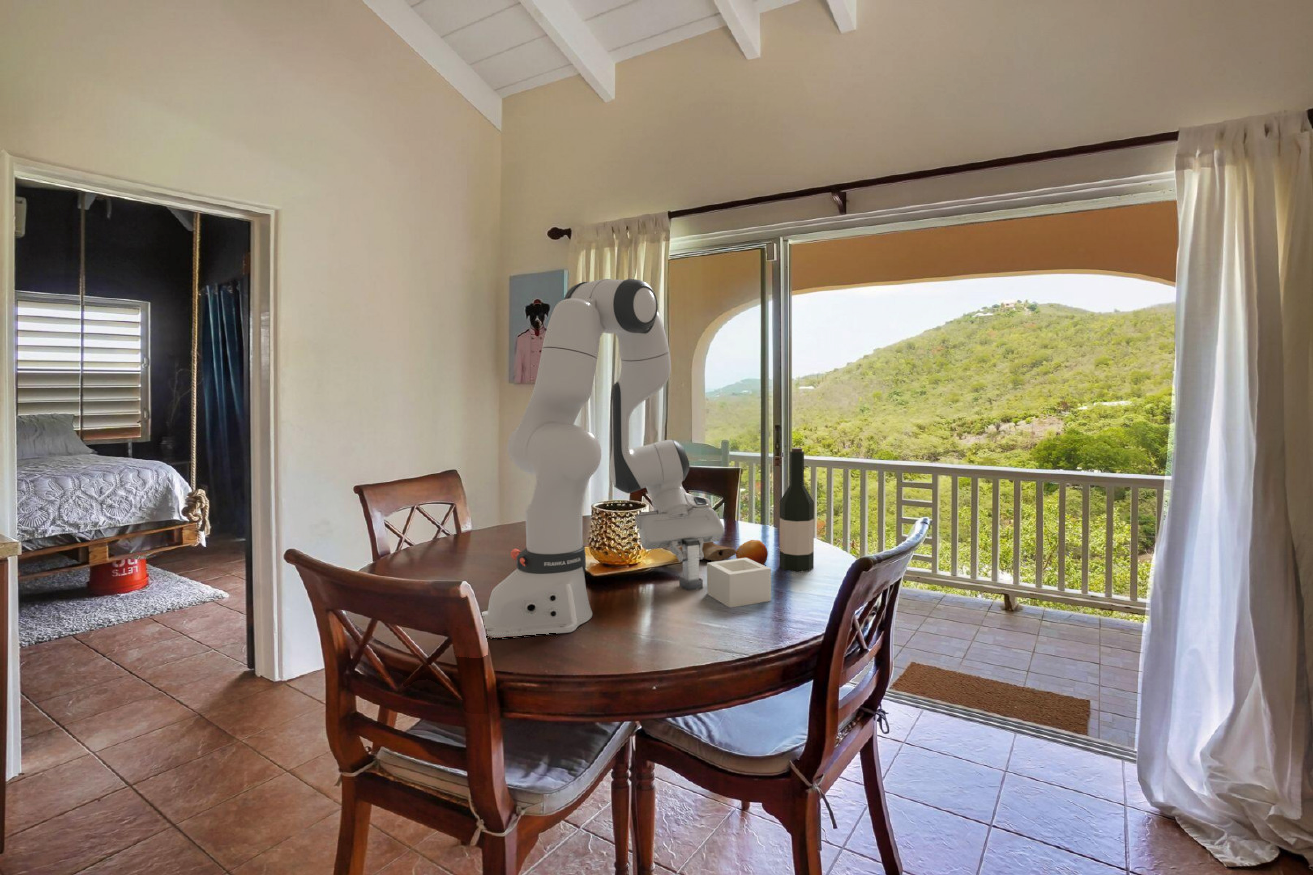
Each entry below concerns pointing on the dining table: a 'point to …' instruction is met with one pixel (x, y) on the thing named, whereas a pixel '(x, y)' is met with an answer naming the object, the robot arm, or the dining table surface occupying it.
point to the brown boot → (716, 551)
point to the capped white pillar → (691, 565)
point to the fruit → (753, 551)
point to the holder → (738, 582)
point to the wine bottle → (796, 520)
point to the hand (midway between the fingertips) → (691, 559)
